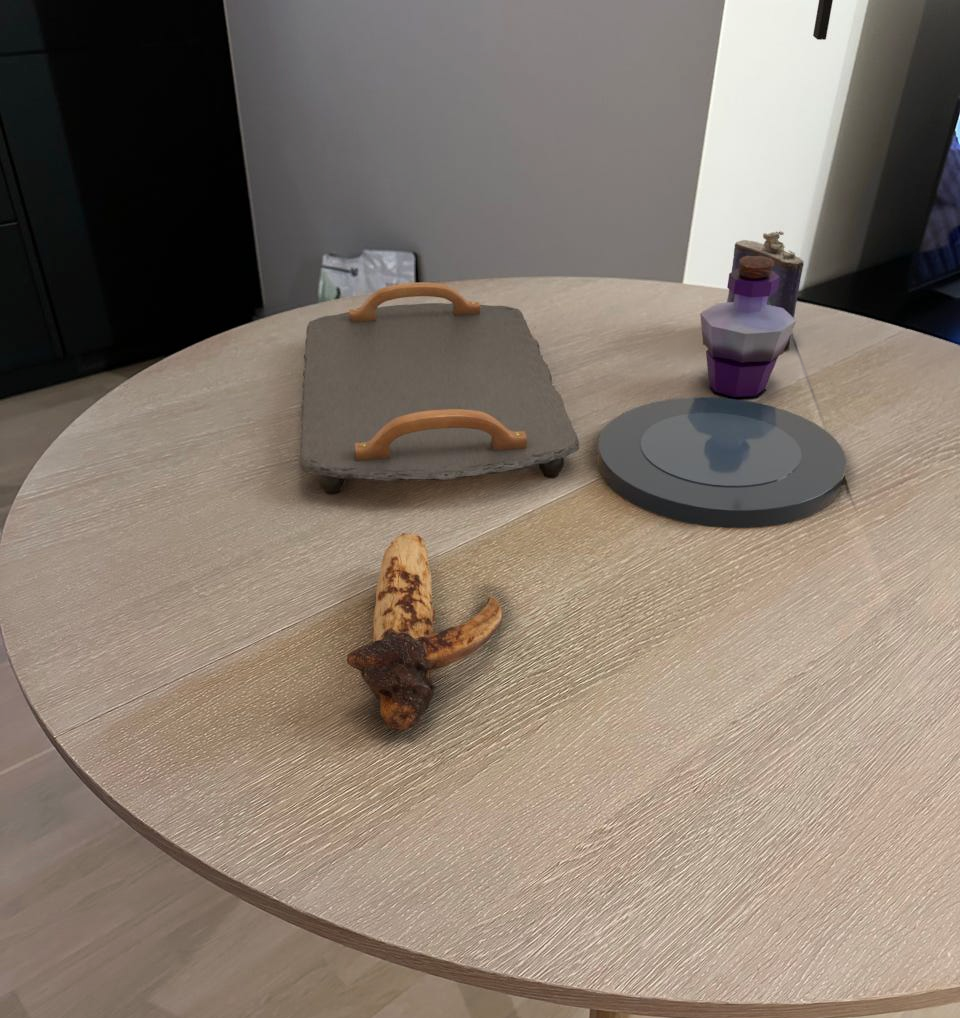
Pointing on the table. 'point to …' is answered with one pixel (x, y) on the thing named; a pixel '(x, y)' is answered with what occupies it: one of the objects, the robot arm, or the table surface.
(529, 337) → the serving tray
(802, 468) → the plate
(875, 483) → the table surface
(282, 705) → the table surface
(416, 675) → the bone fish hook
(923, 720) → the table surface
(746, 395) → the potion bottle
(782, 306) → the flask
